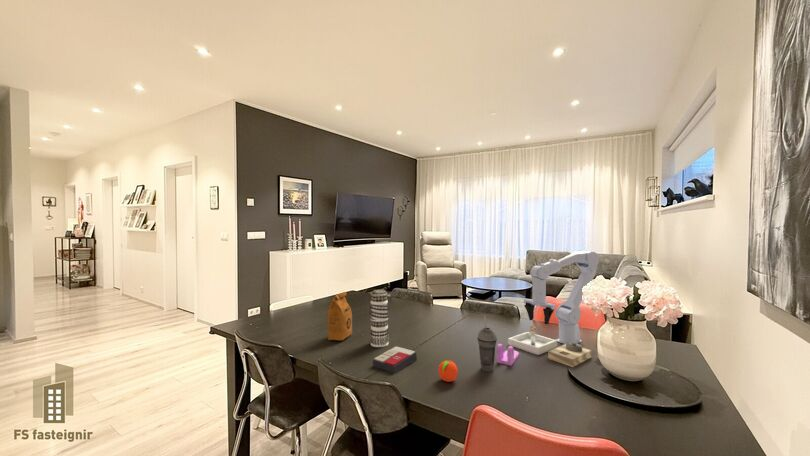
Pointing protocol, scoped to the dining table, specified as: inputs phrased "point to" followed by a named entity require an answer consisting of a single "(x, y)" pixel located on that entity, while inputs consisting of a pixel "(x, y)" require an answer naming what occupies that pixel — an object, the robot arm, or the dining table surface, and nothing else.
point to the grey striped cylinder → (379, 318)
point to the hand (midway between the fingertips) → (538, 321)
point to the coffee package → (339, 318)
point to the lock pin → (532, 335)
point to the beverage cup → (487, 347)
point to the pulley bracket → (569, 354)
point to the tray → (524, 344)
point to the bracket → (506, 355)
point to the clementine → (448, 371)
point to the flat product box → (395, 359)
